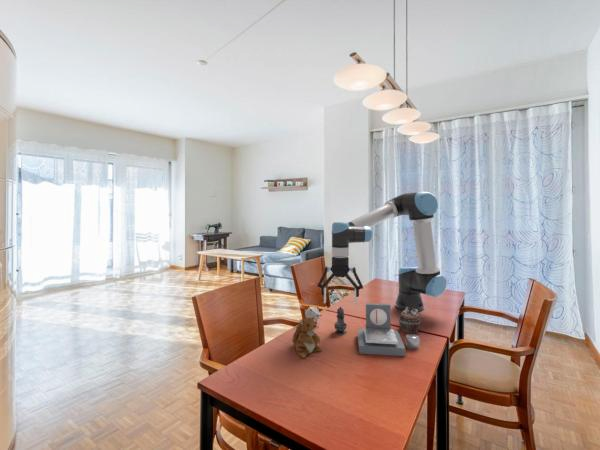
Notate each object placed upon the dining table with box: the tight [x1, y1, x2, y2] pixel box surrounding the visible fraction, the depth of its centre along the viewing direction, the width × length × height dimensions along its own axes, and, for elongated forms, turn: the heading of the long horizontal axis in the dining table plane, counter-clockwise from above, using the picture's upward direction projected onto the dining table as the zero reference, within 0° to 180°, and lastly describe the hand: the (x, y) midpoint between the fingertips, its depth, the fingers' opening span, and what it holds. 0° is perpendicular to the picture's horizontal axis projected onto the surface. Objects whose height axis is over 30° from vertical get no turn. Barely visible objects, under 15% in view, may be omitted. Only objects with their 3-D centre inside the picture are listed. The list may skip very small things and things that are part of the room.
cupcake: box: [398, 307, 422, 334], centre depth 134 cm, size 10×10×10 cm
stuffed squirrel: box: [292, 317, 323, 359], centre depth 116 cm, size 10×14×13 cm
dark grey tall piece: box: [333, 306, 348, 336], centre depth 132 cm, size 6×6×12 cm
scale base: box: [357, 302, 406, 357], centre depth 118 cm, size 17×16×15 cm
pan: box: [363, 327, 398, 344], centre depth 117 cm, size 12×12×2 cm
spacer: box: [405, 333, 420, 350], centre depth 118 cm, size 5×5×4 cm
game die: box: [302, 305, 323, 325], centre depth 144 cm, size 9×8×10 cm
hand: (339, 303), depth 131 cm, fingers open, 13 cm apart
